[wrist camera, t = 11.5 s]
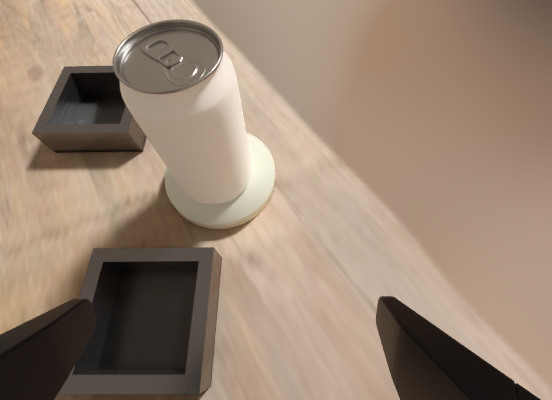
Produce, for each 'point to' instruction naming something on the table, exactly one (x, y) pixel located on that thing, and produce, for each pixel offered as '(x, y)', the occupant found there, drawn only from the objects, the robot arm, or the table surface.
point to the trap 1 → (88, 114)
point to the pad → (237, 208)
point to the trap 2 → (149, 322)
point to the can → (187, 106)
